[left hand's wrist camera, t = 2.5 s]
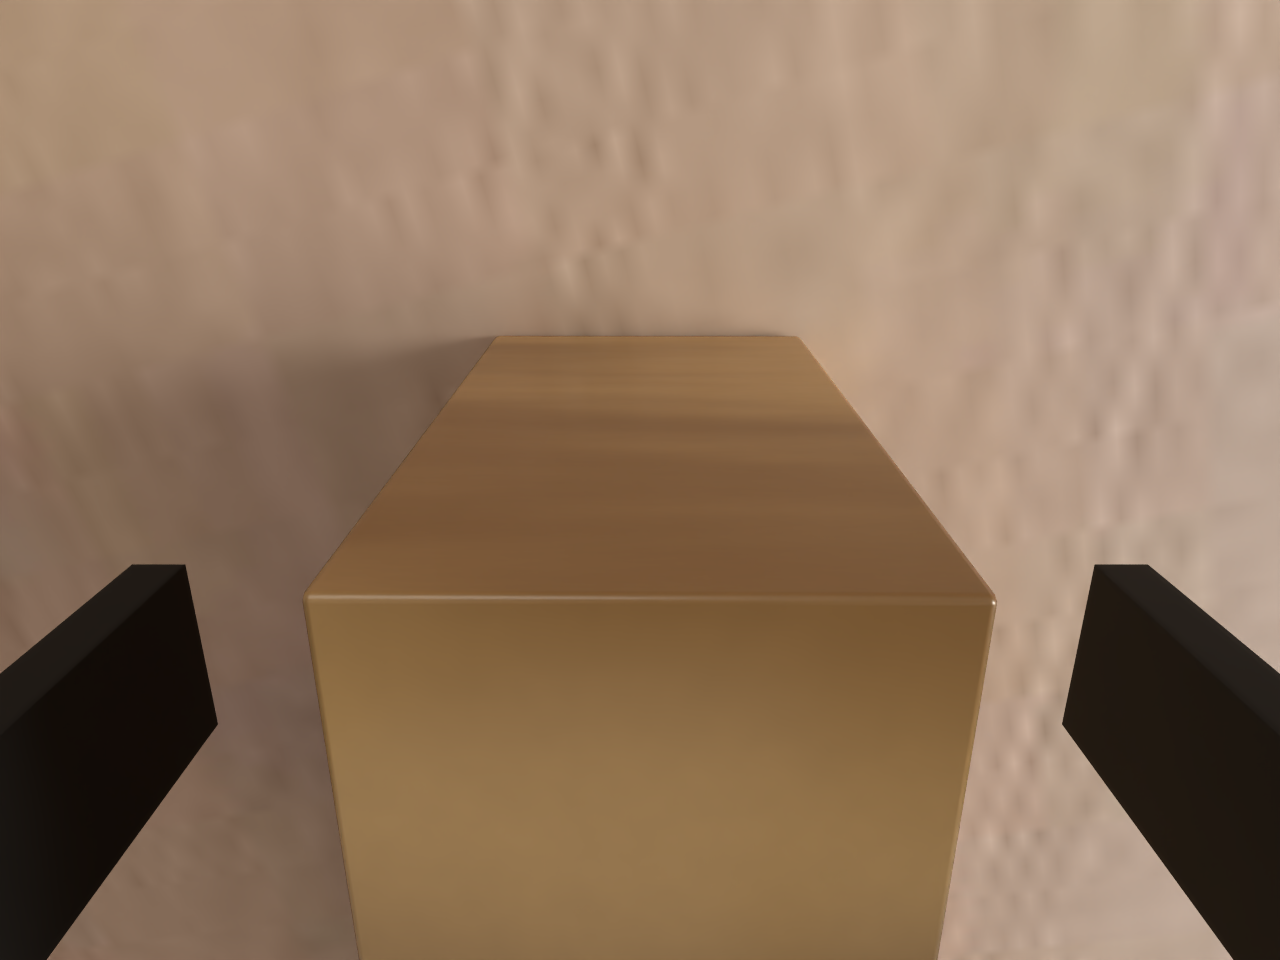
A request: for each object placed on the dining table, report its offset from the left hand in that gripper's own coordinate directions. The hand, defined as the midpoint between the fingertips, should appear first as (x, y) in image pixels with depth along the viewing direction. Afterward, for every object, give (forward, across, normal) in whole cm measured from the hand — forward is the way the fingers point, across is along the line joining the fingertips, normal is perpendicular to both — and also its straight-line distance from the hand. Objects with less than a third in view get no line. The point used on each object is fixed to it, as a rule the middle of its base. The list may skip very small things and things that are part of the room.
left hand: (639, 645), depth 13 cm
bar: (+3, 0, -7) cm, 8 cm away
